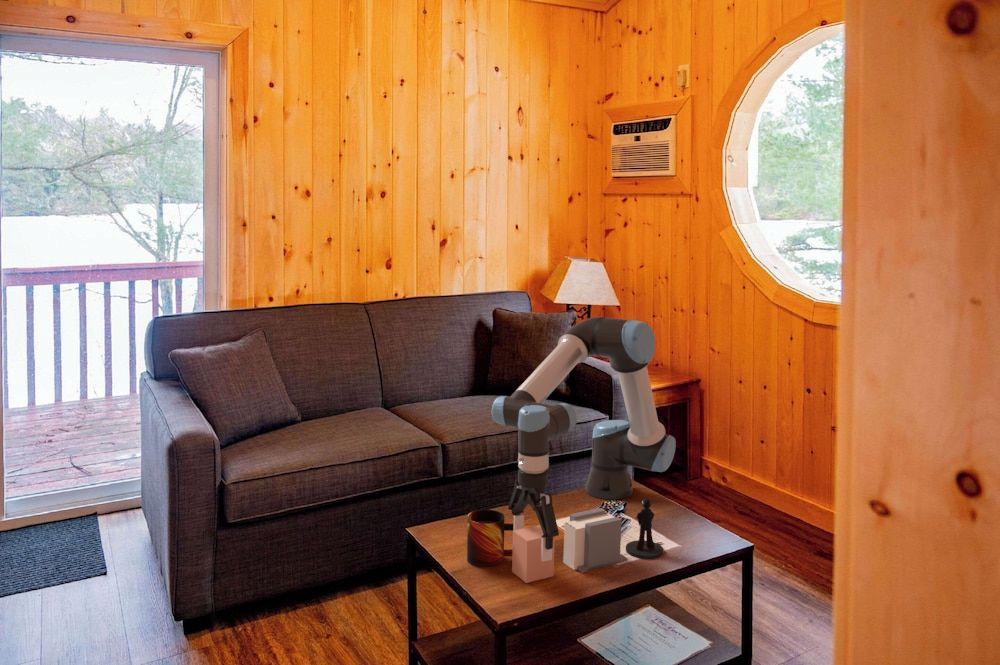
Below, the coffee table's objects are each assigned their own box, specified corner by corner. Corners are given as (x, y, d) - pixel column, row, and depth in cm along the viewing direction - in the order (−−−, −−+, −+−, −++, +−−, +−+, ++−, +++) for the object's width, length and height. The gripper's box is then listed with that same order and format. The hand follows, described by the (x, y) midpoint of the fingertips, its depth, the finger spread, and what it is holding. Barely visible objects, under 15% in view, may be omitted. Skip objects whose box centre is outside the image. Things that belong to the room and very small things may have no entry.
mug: (524, 560, 219) (525, 516, 217) (477, 571, 212) (478, 526, 210) (506, 546, 227) (506, 504, 225) (460, 556, 220) (461, 513, 218)
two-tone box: (606, 548, 227) (608, 506, 225) (627, 561, 219) (629, 517, 217) (559, 559, 219) (560, 516, 217) (578, 573, 212) (580, 528, 210)
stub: (538, 565, 215) (539, 524, 213) (553, 576, 209) (554, 534, 207) (512, 571, 211) (512, 530, 210) (526, 583, 205) (527, 540, 204)
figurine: (656, 542, 231) (658, 491, 229) (668, 558, 221) (671, 504, 219) (621, 544, 230) (623, 492, 227) (632, 560, 220) (634, 506, 217)
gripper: (495, 456, 214) (495, 533, 218) (547, 487, 193) (546, 573, 197) (520, 451, 218) (519, 528, 222) (574, 482, 196) (572, 566, 200)
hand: (532, 549), depth 209 cm, fingers open, 13 cm apart
